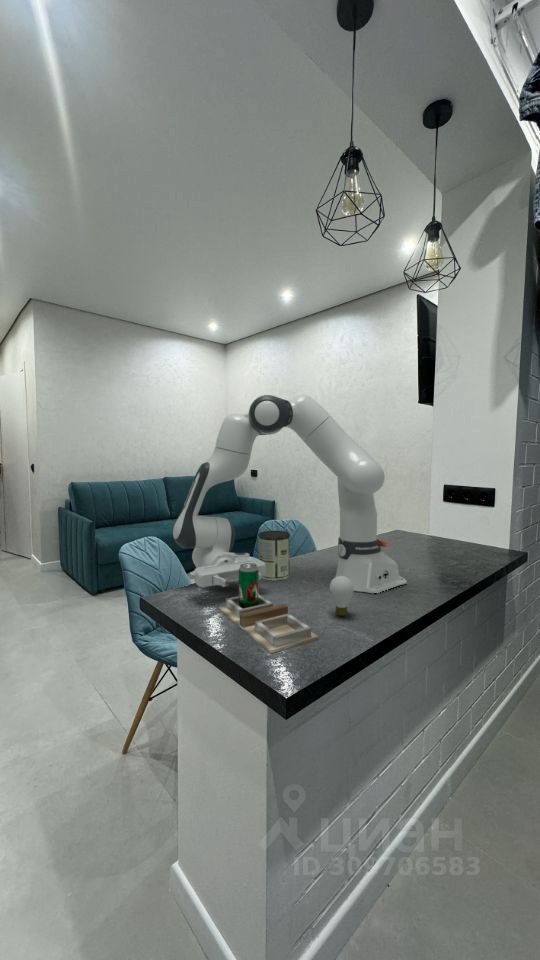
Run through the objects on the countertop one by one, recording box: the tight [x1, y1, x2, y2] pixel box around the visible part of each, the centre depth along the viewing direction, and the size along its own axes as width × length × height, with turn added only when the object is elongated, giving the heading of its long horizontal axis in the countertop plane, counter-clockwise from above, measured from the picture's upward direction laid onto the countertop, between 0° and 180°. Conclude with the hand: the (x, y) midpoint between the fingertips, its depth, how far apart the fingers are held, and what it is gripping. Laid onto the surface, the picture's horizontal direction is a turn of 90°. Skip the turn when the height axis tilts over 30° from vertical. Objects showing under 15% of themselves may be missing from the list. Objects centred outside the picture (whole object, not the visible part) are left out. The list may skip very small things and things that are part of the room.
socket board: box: [218, 594, 319, 654], centre depth 93 cm, size 26×12×3 cm, turn 31°
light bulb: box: [329, 576, 355, 617], centre depth 97 cm, size 6×6×10 cm
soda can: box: [238, 563, 260, 609], centre depth 100 cm, size 5×5×12 cm
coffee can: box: [258, 530, 291, 581], centre depth 129 cm, size 10×10×14 cm
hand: (243, 580), depth 103 cm, fingers open, 8 cm apart
